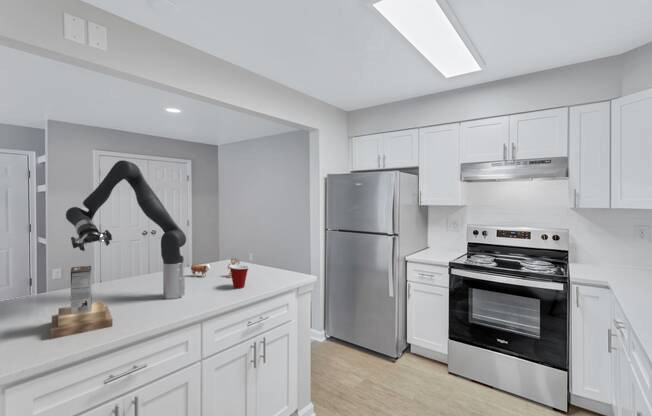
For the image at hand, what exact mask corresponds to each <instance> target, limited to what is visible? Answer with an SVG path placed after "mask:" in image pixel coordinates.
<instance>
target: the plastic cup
mask: <svg viewBox="0 0 652 416" xmlns="http://www.w3.org/2000/svg"><path fill="white" fill-rule="evenodd" d="M229 267H230V268H229V271H231V274H230V275H232V278H231V281H232V286H233V288H234V289H243V288H245V285H246V280H247V274H248V271H249V269H250V266H248V265H243V264H238V265H237V264H235V265H232V264H230V265H229Z"/></svg>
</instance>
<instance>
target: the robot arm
mask: <svg viewBox="0 0 652 416" xmlns="http://www.w3.org/2000/svg"><path fill="white" fill-rule="evenodd" d="M123 180H124V181H126V182H127V183H128V184H129V185H130V187H131V188H132V189H133V191H134V194H135V198H136V201H137V204H138V206H139V208H140V209H141V210H142V212H143V213H144V215H145V216H146V217H147V218H148V219H149V220H151V221H152V222H153V223H154V224H156V225H158V227H160V229H161V230H162V231H163V234H162V235H161V239H160V253H161V258H162V262H163V263H162V275H163V276H162V278H163V279H162V285H163V286H162V290H163V291H162V297H163V299H167V300H172V299H179V298H182V297H183V296H184V295H185V294H186V293H185V290H186V288H185V287H186V285H185V284H186V283H185V282H186V281H185V278H186V277H185V275H184V256H183V255H182V254H181V250H180V248H182V247H184V245H185V244H186V242H187V237H186V234H185V233H184V231H183V230H182V229H181V228H180V227H179V226H178V224H177V223H176V222H175V221H174V219H173V218H172V216H171V215H170V214H169V212H168V211H167V209H166V207H165V206H164V205H163V202H162V201H161V200H160V198H159V197H158V196H157V195H156V193H155V191H154V190H153V189H152V188H151V186H150V185H149V184H148V182H147V181H146V179H145V177H144V175H143V173H142V171H141V169H140V168H139V166H138V165H137V164H135V163H134V162H130V161H127V160H123V159H122V160H118V161H117V162H115V164H114V165H113V166H112V168H110V169H109V171H108V172H107V174H106V176H105V177H104V178H103V180H102V181H101V182H100V183H99V184H98V186H97V187H96V188H95V189H94V190H93V191H92V192H91V193H90V194H89V195H88V196H87V197H86V198H85V199H84V200H83V202H82V205H83V206H84V207H85V208H86V209H87V210H86V209H85V210H84V209H83V208H80V207H77V206H72V207H70V208H68V209H67V210H66V212H65V219H66V220H67V221H68V222H69V223H70V224H71V225H73V226H74V228H75V231H76V235H78V237H74V236H72V237H70V241H71V245H72V248H73V249H76V248H79V250H80V251H82V252H85V250H86V249H85V246H86V245H88V244H90V243H94V242H100V243H102V242H104V244H105V245H106V247H108V246H109V245H110V241H112V240H113V235H112V234H111V232H110V231H109V230H108V229H106V230H104V232H102V231H99V228H98V227H97V226H96V224H95V223H94V221H93V218H94V216H95V215H96V213H97V212H98V210H99V209H100V208H101V207H102V206H103V205H104V204H105V203H106V202H107V201H108V199H109V198H110V196H111V194H112V192H113V190H114V188H115V187H116V186H117V185H118V184H120V183H121V181H123Z"/></svg>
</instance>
